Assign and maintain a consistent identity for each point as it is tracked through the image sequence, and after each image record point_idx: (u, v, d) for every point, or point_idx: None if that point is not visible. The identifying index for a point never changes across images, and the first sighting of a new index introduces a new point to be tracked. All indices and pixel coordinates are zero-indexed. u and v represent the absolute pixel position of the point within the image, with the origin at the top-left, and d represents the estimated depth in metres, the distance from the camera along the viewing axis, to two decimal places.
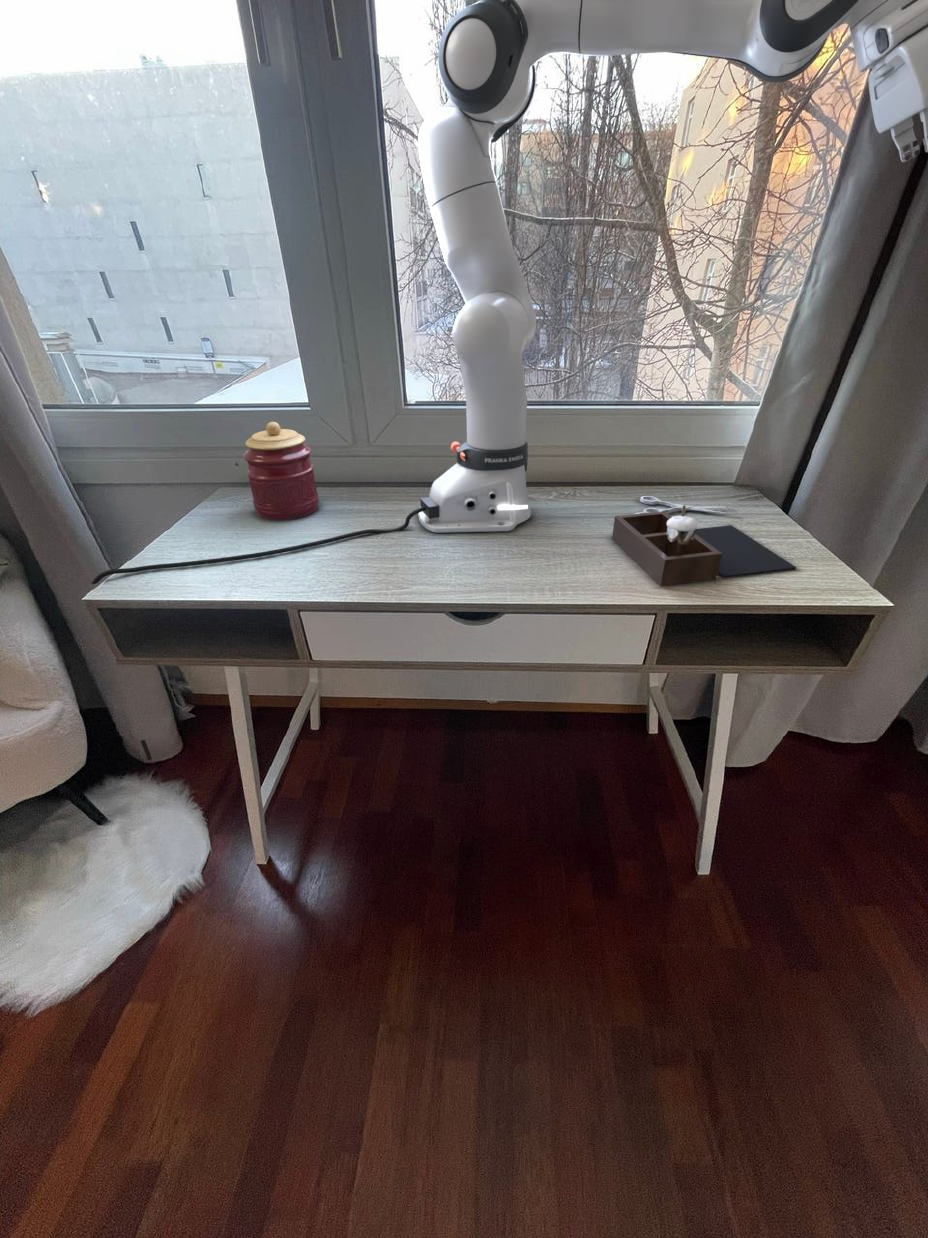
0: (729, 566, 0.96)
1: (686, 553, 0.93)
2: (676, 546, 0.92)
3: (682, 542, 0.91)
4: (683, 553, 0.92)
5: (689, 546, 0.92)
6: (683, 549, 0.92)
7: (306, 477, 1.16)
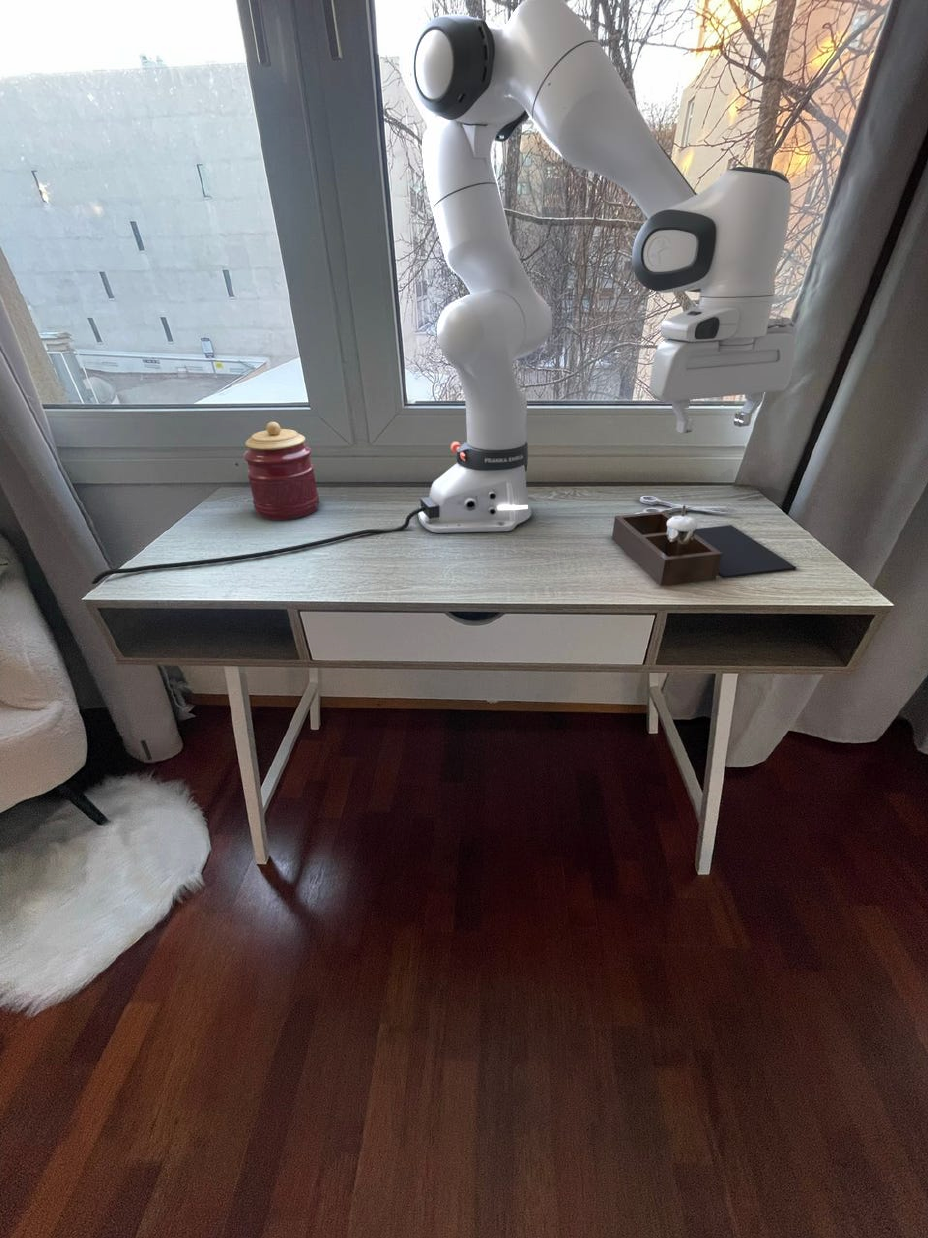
0: (729, 566, 0.96)
1: (686, 553, 0.93)
2: (676, 546, 0.92)
3: (682, 542, 0.91)
4: (683, 553, 0.92)
5: (689, 546, 0.92)
6: (683, 549, 0.92)
7: (306, 477, 1.16)
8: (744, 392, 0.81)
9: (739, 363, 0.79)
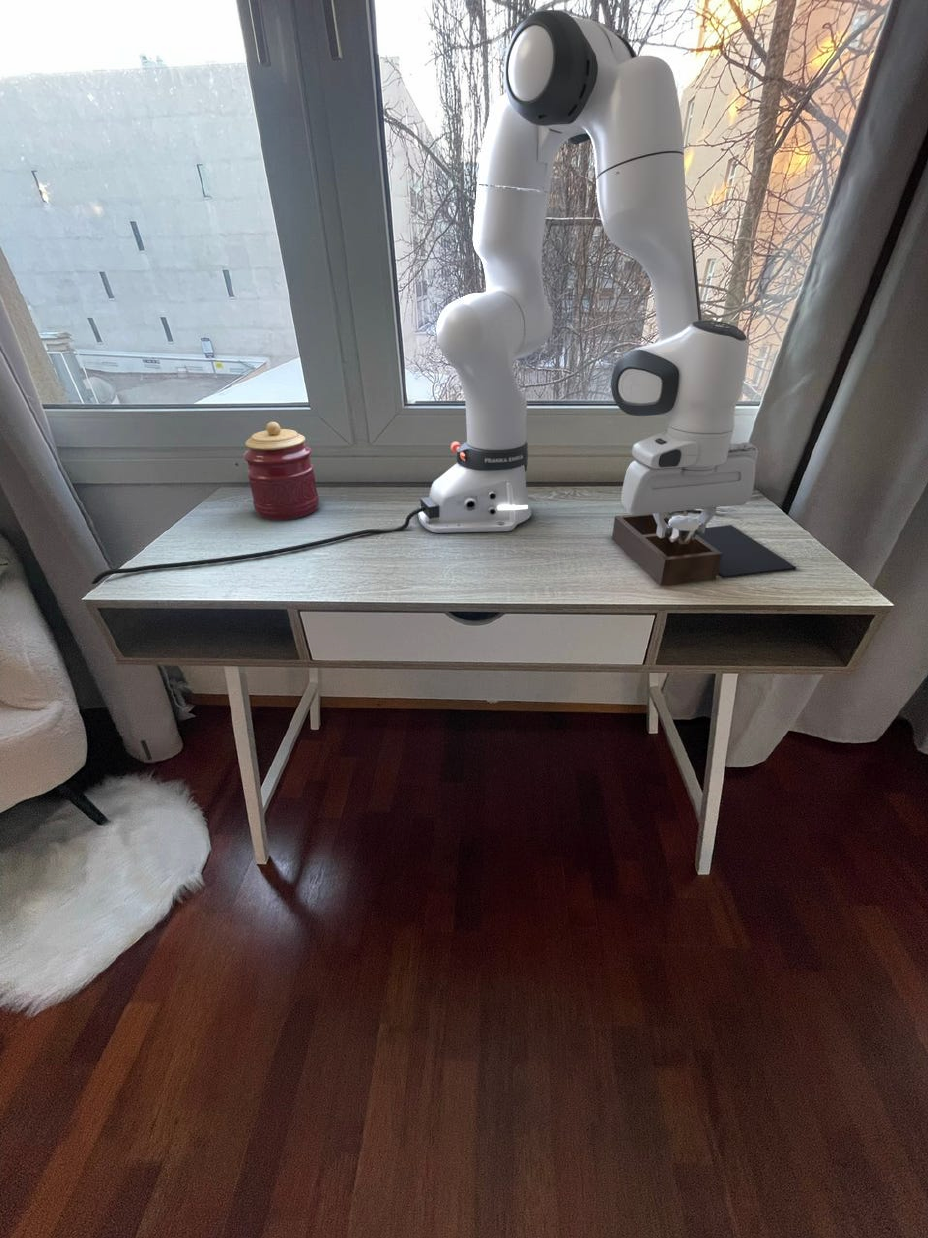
0: (729, 566, 0.96)
1: (687, 553, 0.93)
2: (677, 546, 0.92)
3: (683, 542, 0.91)
4: (684, 553, 0.92)
5: (690, 546, 0.92)
6: (684, 549, 0.92)
7: (306, 477, 1.16)
8: (708, 506, 0.89)
9: (702, 483, 0.87)
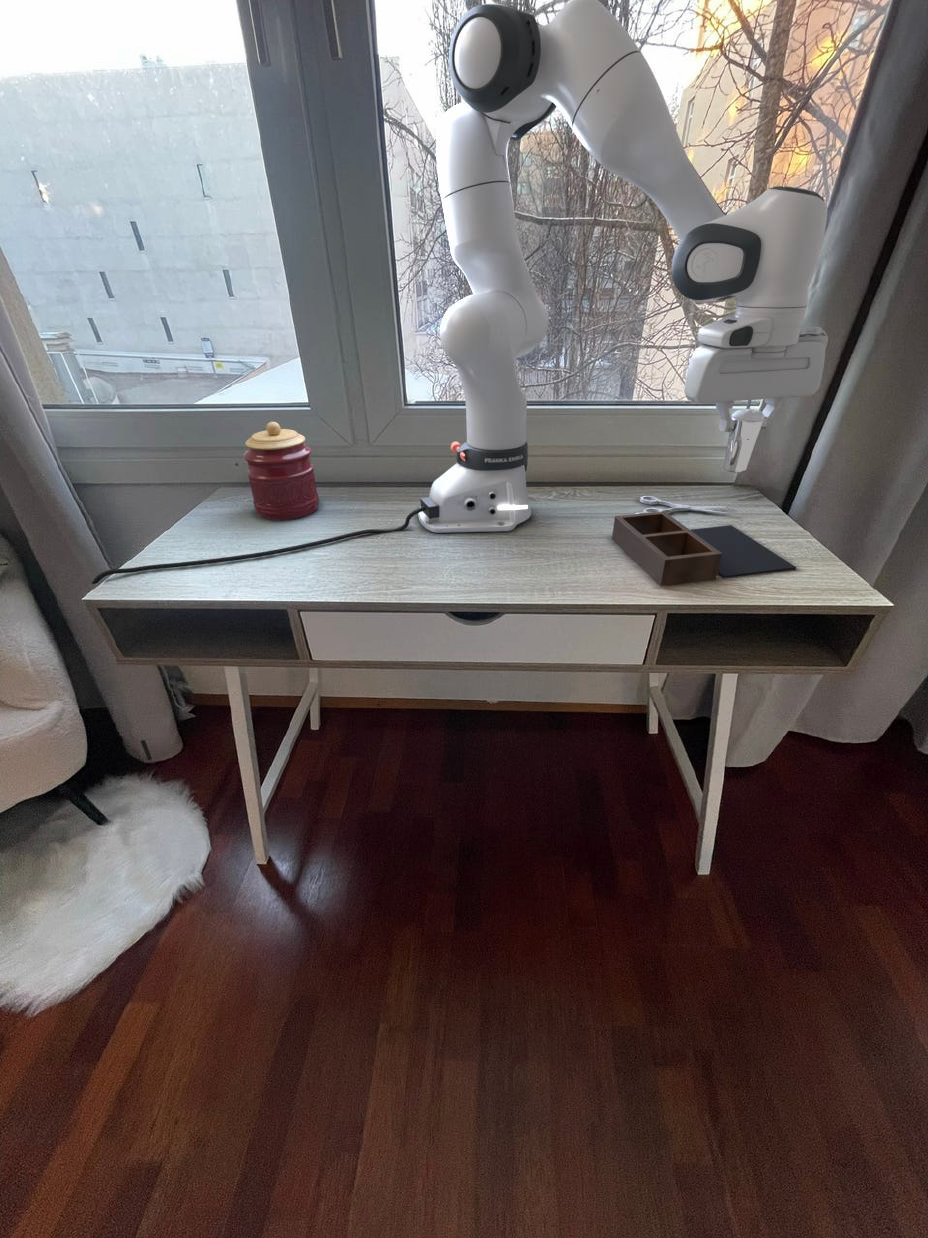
0: (729, 566, 0.96)
1: (750, 448, 0.89)
2: (741, 440, 0.89)
3: (748, 435, 0.88)
4: (748, 448, 0.89)
5: (754, 440, 0.89)
6: (748, 443, 0.89)
7: (306, 477, 1.16)
8: (774, 396, 0.86)
9: (770, 369, 0.84)
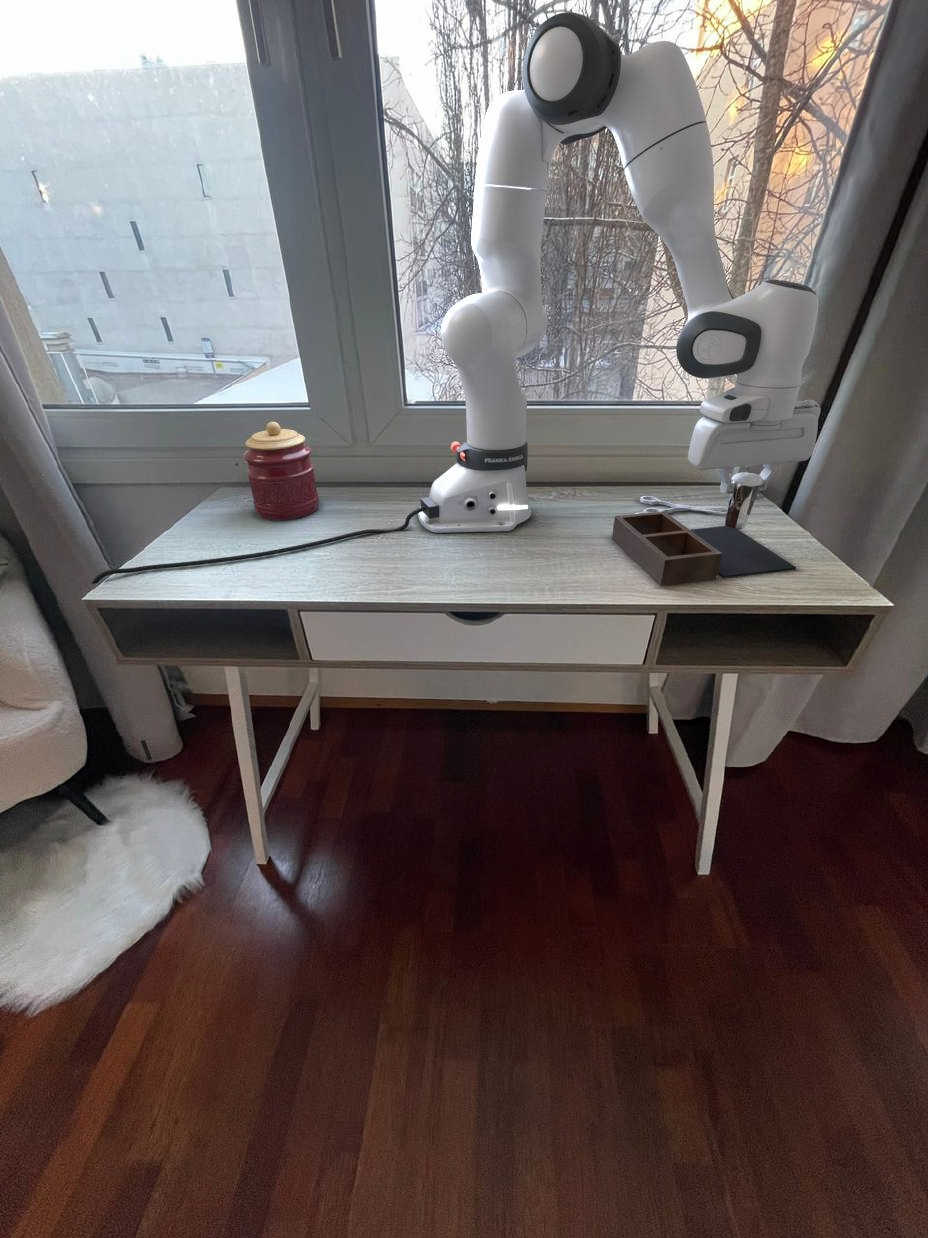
0: (729, 566, 0.96)
1: (749, 508, 0.96)
2: (740, 501, 0.96)
3: (747, 497, 0.95)
4: (747, 508, 0.96)
5: (753, 501, 0.96)
6: (747, 504, 0.96)
7: (306, 477, 1.16)
8: (771, 462, 0.93)
9: (767, 438, 0.91)
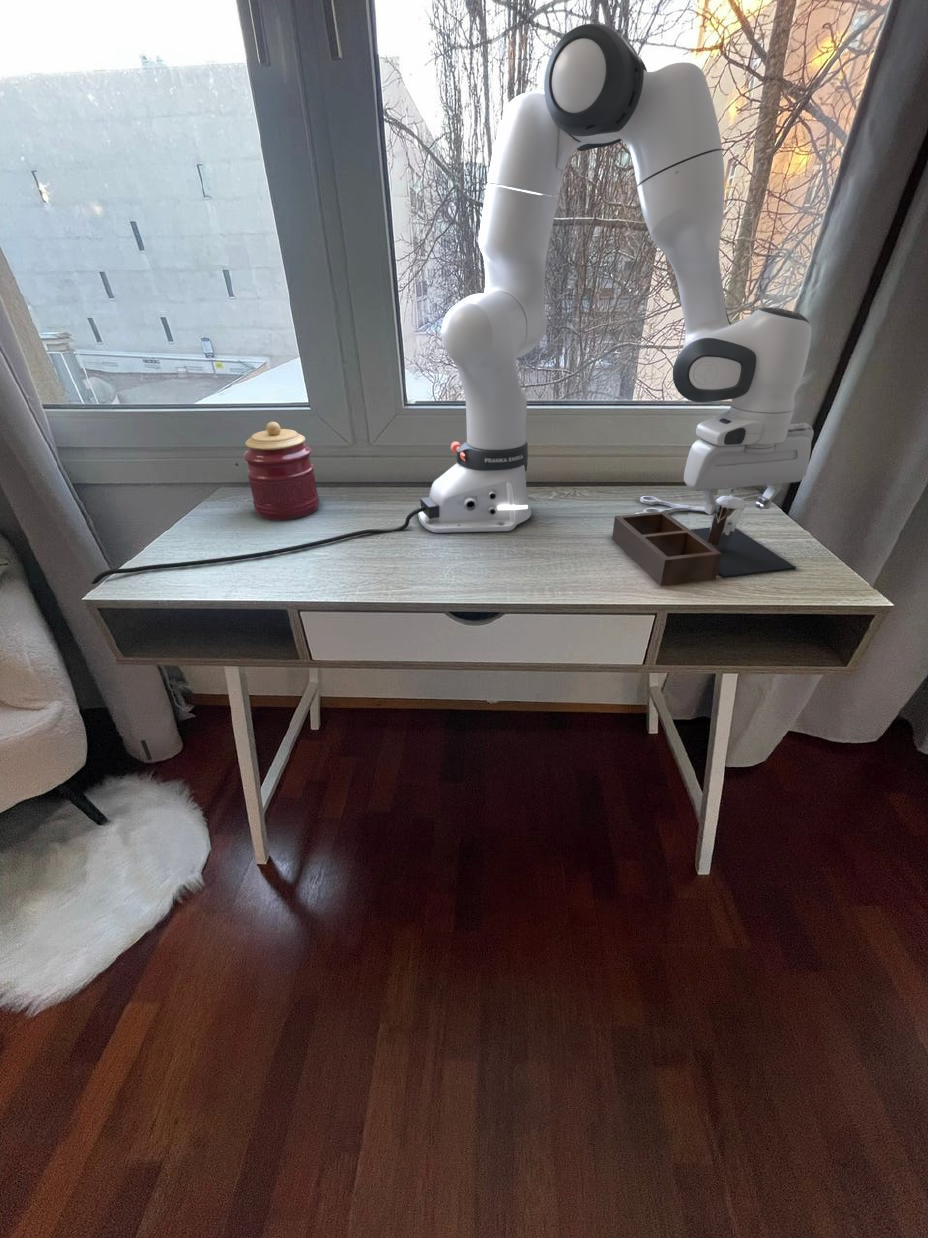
0: (729, 566, 0.96)
1: (731, 531, 0.98)
2: (723, 523, 0.97)
3: (730, 519, 0.97)
4: (729, 531, 0.98)
5: (735, 525, 0.98)
6: (730, 527, 0.97)
7: (306, 477, 1.16)
8: (765, 483, 0.95)
9: (761, 460, 0.93)
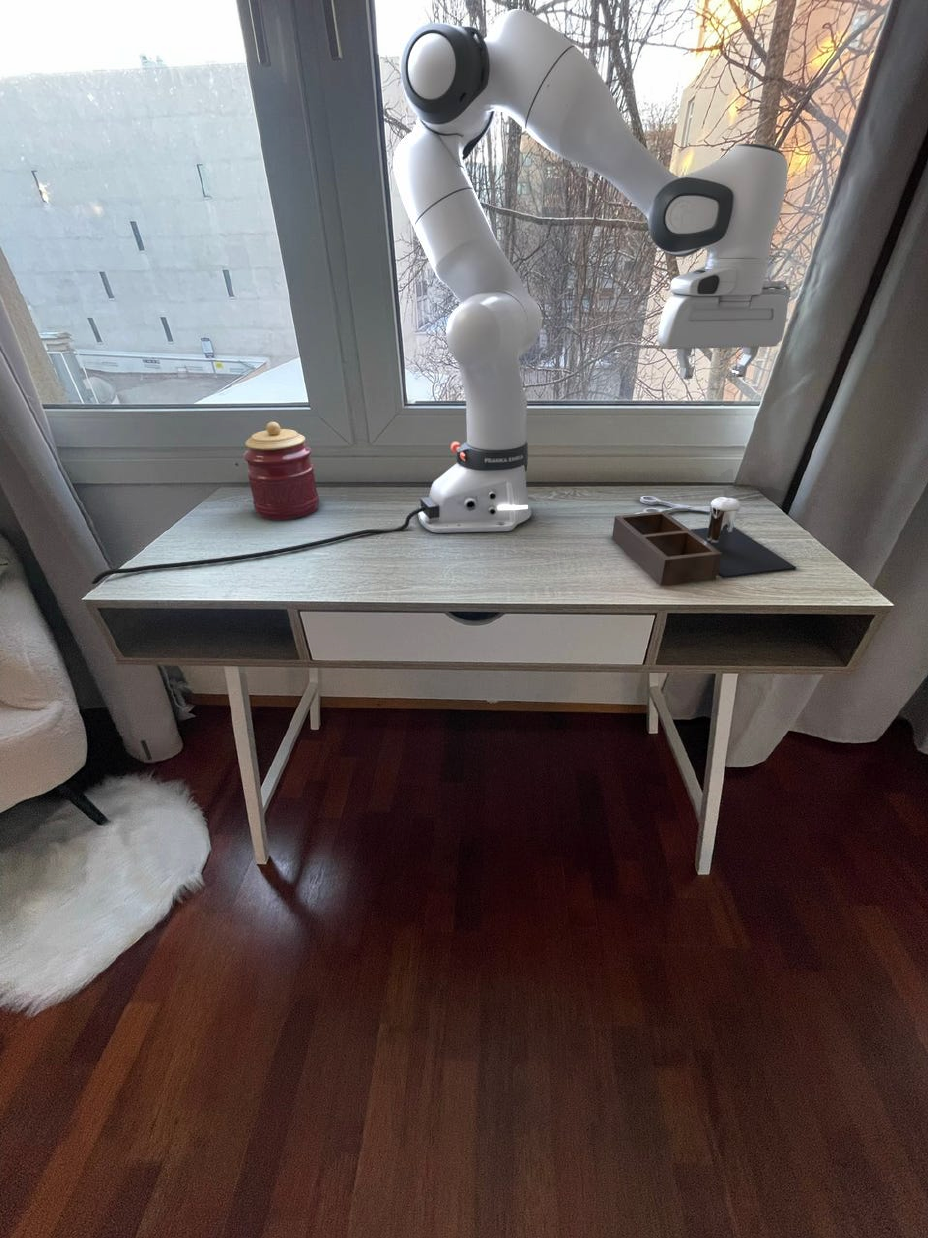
0: (729, 566, 0.96)
1: (729, 532, 0.98)
2: (720, 525, 0.97)
3: (726, 521, 0.97)
4: (726, 532, 0.98)
5: (732, 525, 0.98)
6: (726, 528, 0.97)
7: (306, 477, 1.16)
8: (740, 345, 0.93)
9: (736, 318, 0.91)
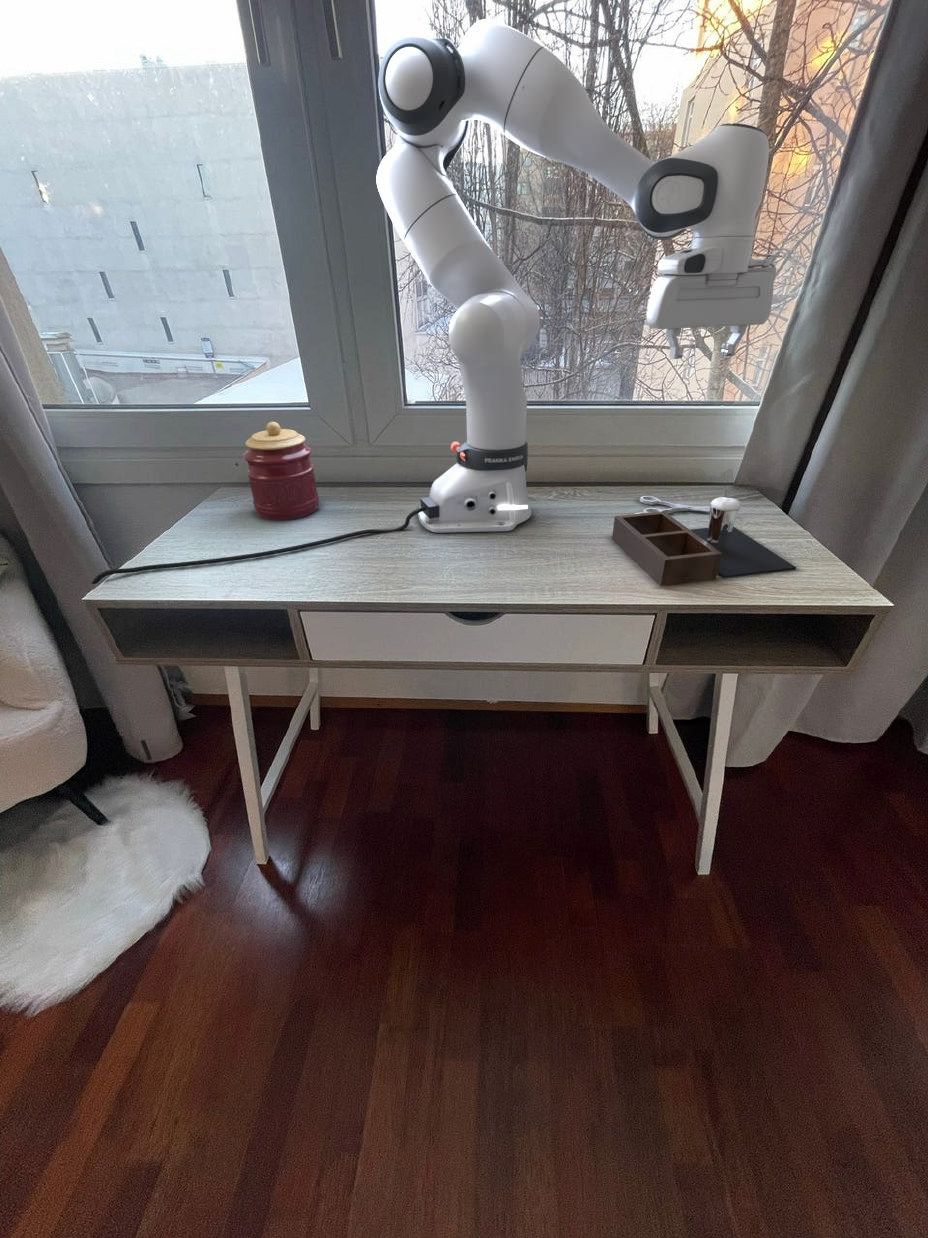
0: (729, 566, 0.96)
1: (729, 532, 0.98)
2: (720, 525, 0.97)
3: (726, 521, 0.97)
4: (726, 532, 0.98)
5: (732, 525, 0.98)
6: (726, 528, 0.97)
7: (306, 477, 1.16)
8: (729, 323, 0.95)
9: (723, 297, 0.93)
